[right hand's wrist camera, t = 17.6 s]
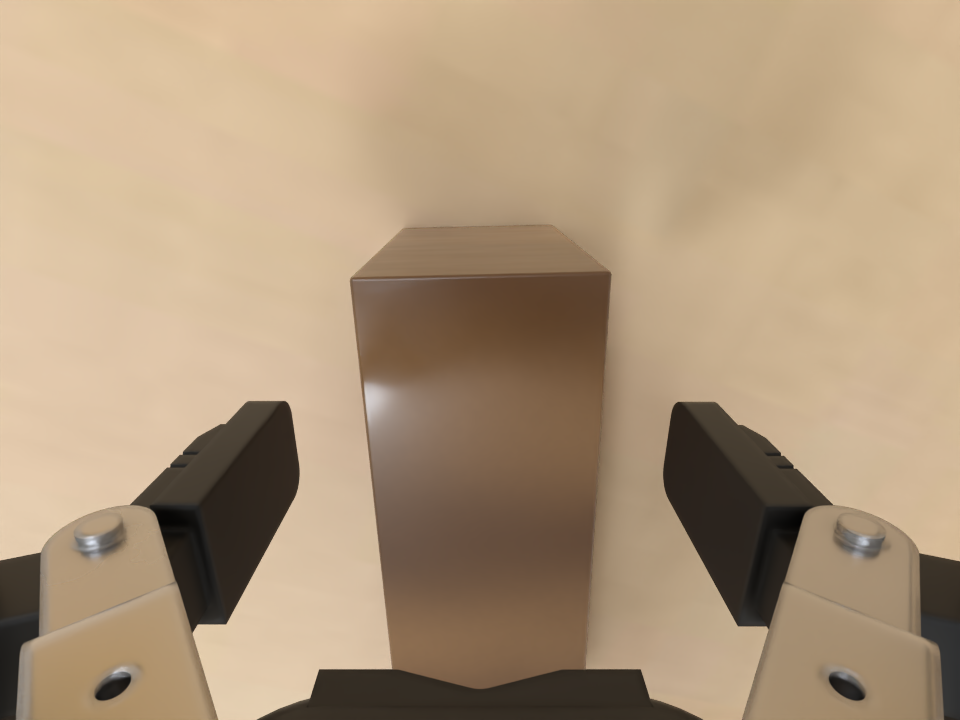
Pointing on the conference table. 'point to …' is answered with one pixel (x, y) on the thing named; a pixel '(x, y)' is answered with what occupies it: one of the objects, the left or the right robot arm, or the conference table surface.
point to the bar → (484, 445)
